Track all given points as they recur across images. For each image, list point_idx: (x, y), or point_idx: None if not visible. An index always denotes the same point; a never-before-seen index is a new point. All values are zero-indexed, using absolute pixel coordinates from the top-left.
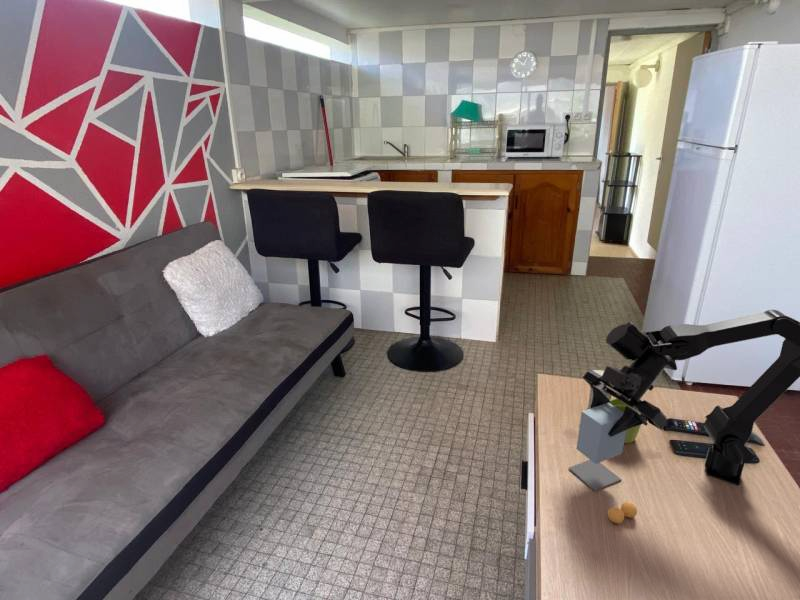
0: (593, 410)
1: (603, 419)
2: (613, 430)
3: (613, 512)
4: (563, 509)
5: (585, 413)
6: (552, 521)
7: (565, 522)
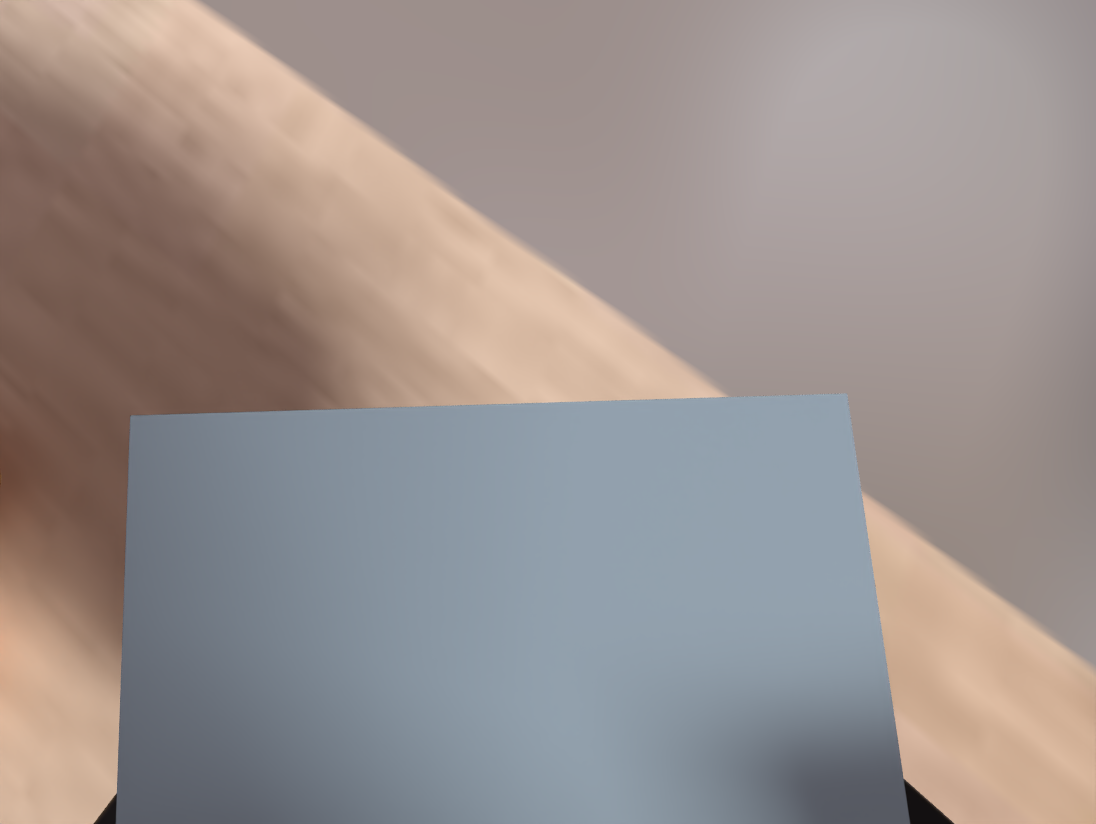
0: (786, 726)
1: (316, 665)
2: (107, 821)
3: None
4: (253, 214)
5: (739, 413)
6: (199, 71)
7: (146, 142)
